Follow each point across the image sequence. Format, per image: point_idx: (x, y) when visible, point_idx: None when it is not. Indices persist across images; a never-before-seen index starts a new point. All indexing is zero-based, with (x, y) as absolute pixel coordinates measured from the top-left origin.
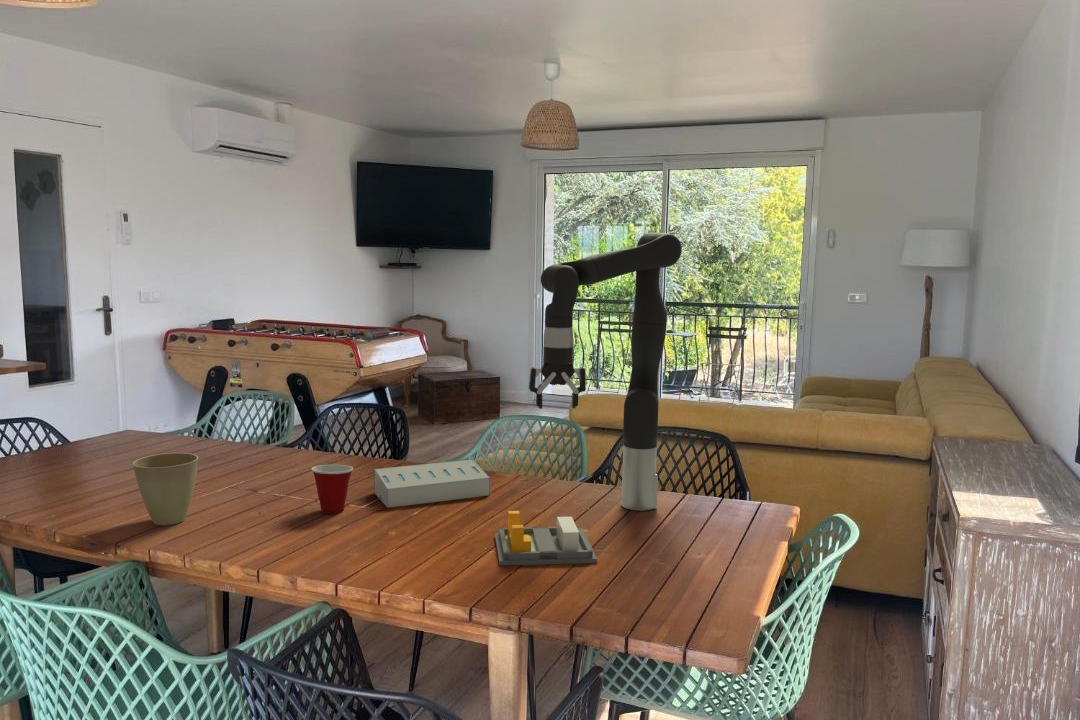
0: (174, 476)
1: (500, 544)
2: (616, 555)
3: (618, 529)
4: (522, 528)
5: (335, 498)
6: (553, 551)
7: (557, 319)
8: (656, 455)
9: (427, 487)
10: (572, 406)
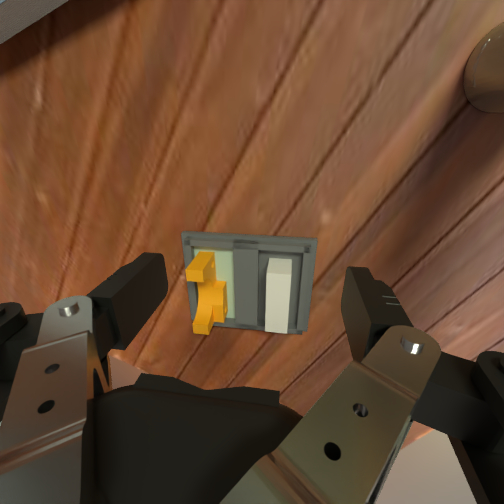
0: None
1: None
2: (339, 311)
3: (385, 218)
4: (207, 333)
5: None
6: (252, 327)
7: None
8: None
9: (2, 8)
10: (344, 298)
